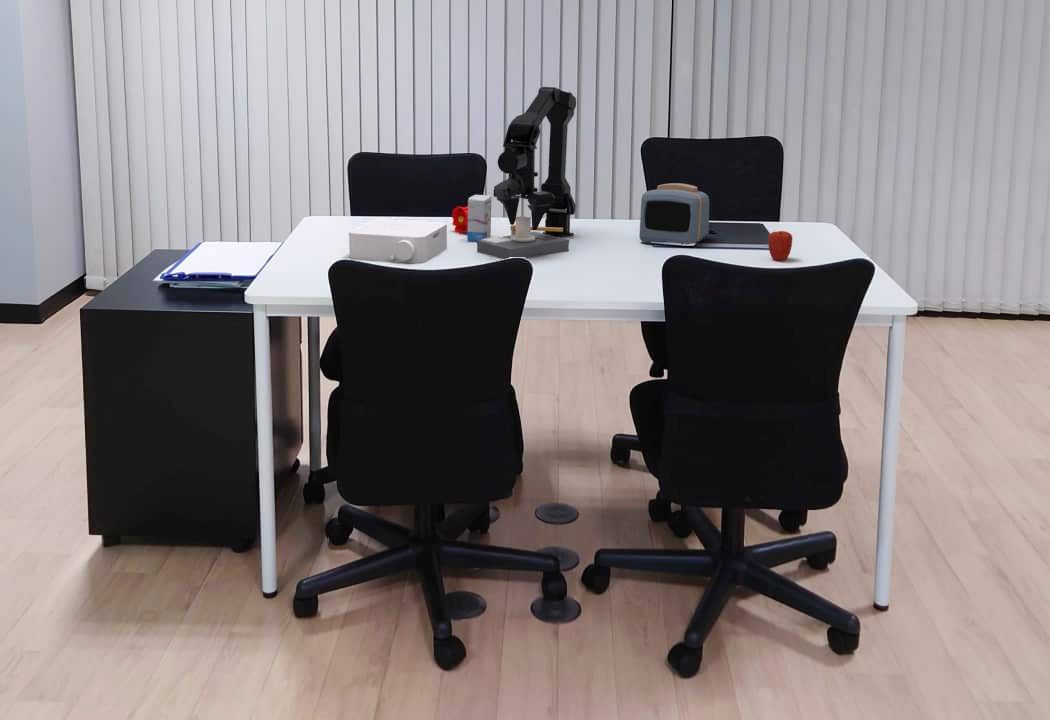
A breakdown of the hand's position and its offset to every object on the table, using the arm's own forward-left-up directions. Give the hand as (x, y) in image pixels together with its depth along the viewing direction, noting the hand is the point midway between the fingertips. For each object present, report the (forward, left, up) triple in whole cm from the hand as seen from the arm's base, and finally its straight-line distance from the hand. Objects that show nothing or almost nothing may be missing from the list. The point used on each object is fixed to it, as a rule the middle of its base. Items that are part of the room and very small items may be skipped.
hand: (523, 227), depth 361 cm
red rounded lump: (-46, +49, -7) cm, 67 cm away
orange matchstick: (-7, -2, -2) cm, 7 cm away
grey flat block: (0, 0, -6) cm, 6 cm away
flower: (-5, -30, -7) cm, 31 cm away
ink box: (-1, -20, -7) cm, 21 cm away
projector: (+27, -19, -7) cm, 34 cm away
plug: (0, 0, -6) cm, 6 cm away
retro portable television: (-42, +15, -7) cm, 45 cm away
